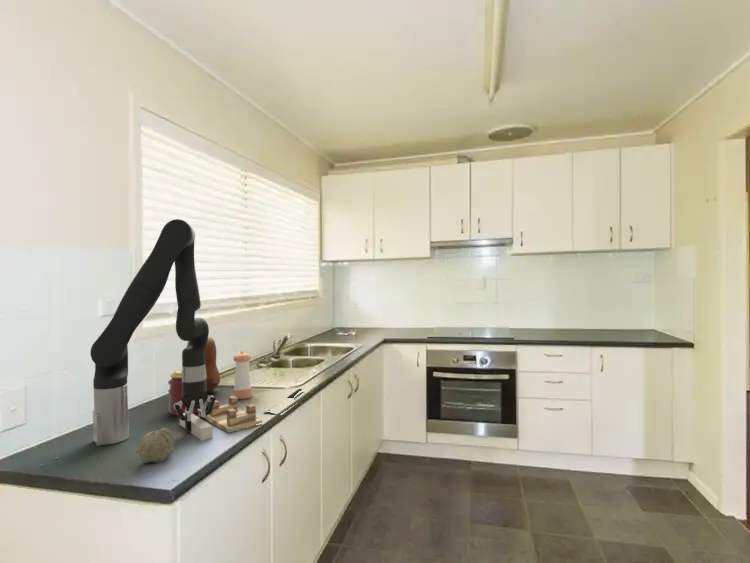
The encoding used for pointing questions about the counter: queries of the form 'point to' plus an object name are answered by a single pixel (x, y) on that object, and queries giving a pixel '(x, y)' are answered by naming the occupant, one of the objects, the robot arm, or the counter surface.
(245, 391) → the salt shaker
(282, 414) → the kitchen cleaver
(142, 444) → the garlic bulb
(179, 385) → the canister
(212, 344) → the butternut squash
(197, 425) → the cream white rectangular bar
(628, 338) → the counter surface
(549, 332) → the counter surface
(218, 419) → the wooden plate with pegs
